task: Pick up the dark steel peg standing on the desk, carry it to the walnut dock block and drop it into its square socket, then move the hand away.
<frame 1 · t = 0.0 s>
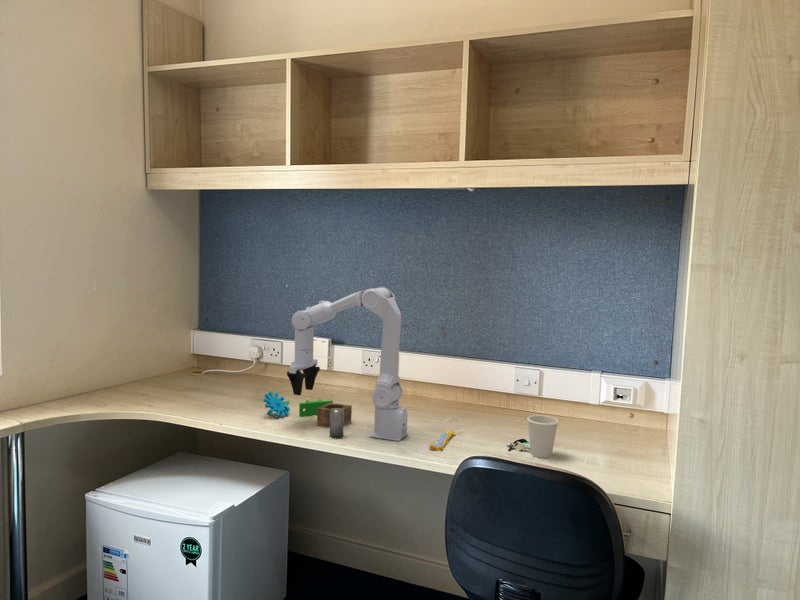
hand: (303, 392, 188), 10 cm above the table, tool pointing down, fingers open, 7 cm apart
candy bar: (442, 444, 175), on the table
gear: (277, 416, 198), on the table
peg: (336, 436, 177), on the table
dixie cup: (541, 455, 167), on the table
socket: (334, 424, 190), on the table
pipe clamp: (315, 414, 201), on the table
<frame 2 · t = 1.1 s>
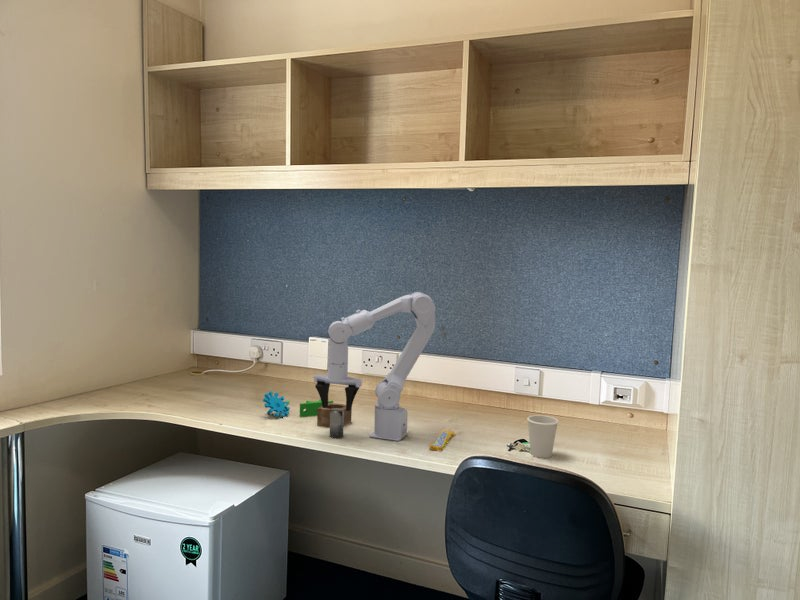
hand: (336, 408, 177), 8 cm above the table, tool pointing down, fingers open, 7 cm apart
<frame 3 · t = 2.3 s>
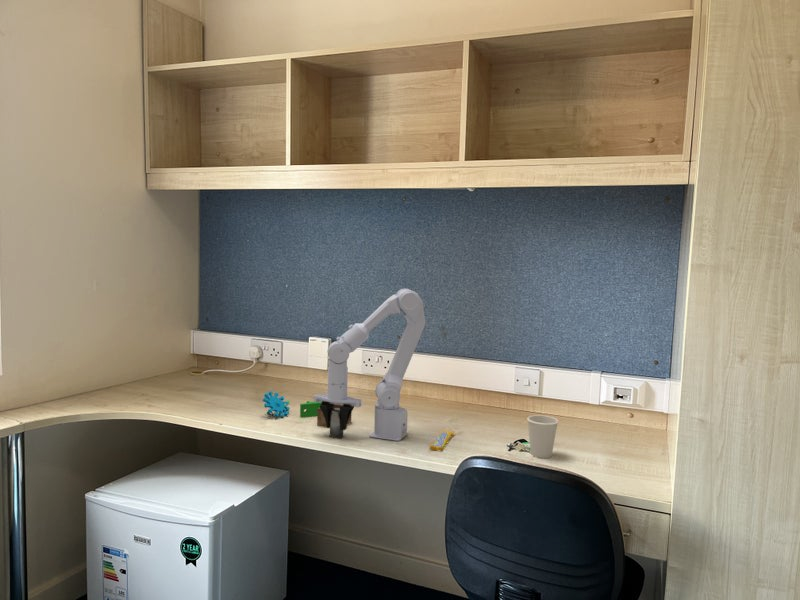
hand: (336, 428, 177), 2 cm above the table, tool pointing down, fingers closed on peg, 4 cm apart
peg: (336, 436, 177), on the table, touching gripper
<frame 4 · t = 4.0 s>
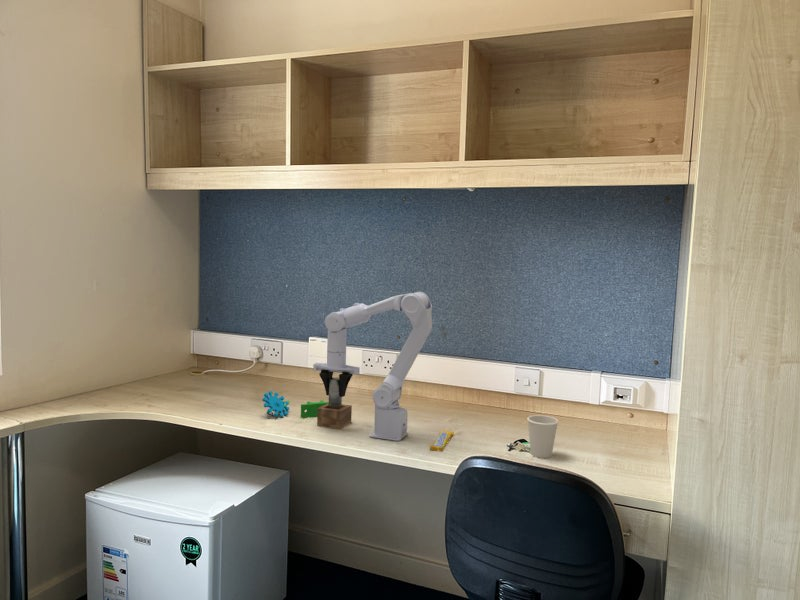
hand: (335, 395, 184), 10 cm above the table, tool pointing down, fingers closed on peg, 4 cm apart
peg: (335, 404, 184), point 8 cm above the table, touching gripper
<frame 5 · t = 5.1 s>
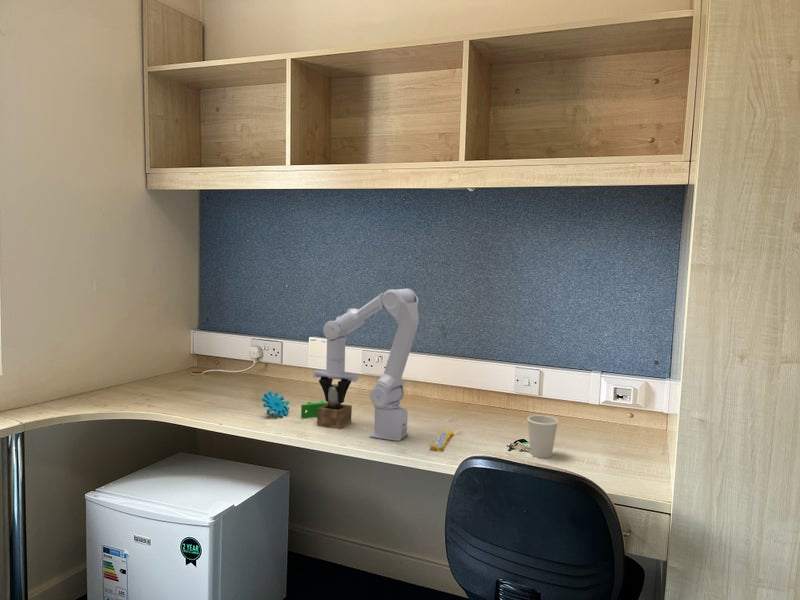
hand: (334, 401, 189), 7 cm above the table, tool pointing down, fingers closed on peg, 4 cm apart
peg: (334, 410, 189), point 4 cm above the table, touching gripper
when the fingers open (6 cm above the table, at t = 5.7 s): peg drops 3 cm, resting on socket.
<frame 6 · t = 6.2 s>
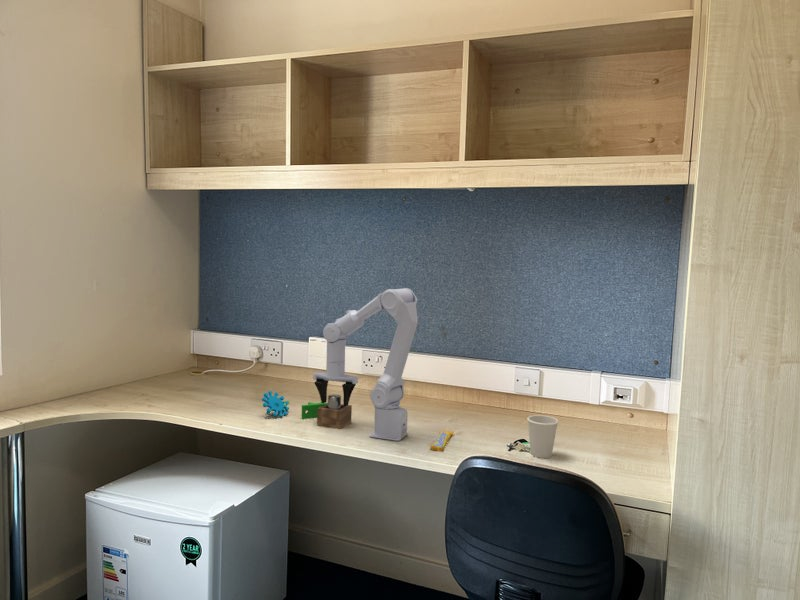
hand: (334, 404, 189), 6 cm above the table, tool pointing down, fingers open, 7 cm apart
peg: (334, 421, 189), point 1 cm above the table, touching socket
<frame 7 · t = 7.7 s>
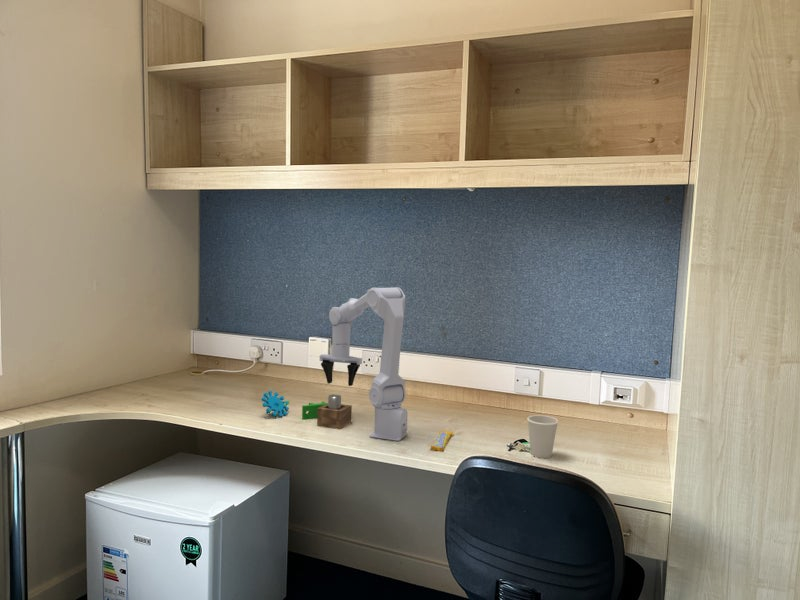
hand: (340, 384, 199), 10 cm above the table, tool pointing down, fingers open, 7 cm apart
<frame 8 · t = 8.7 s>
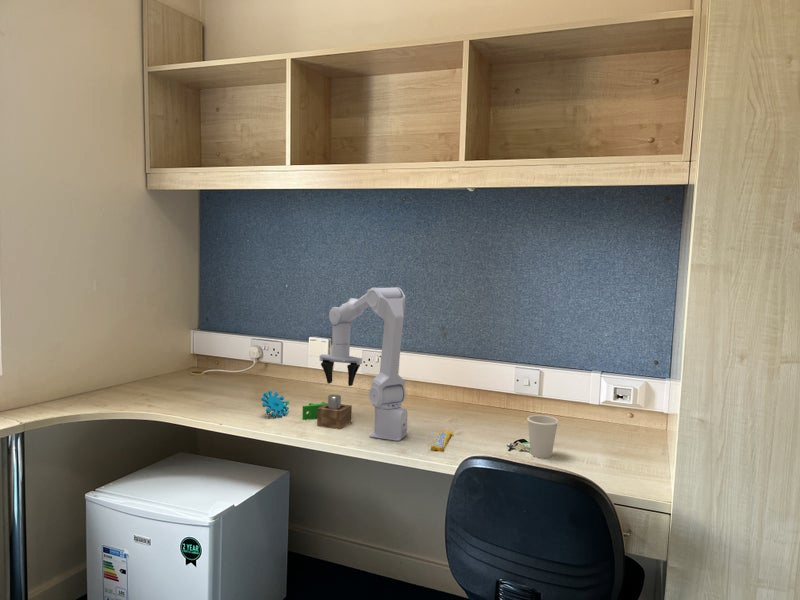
hand: (340, 384, 199), 10 cm above the table, tool pointing down, fingers open, 7 cm apart
at the end: peg 0.3 cm off-centre on the socket, point 1.0 cm above the socket's base; peg tilted 0°; the gripper is holding nothing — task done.
